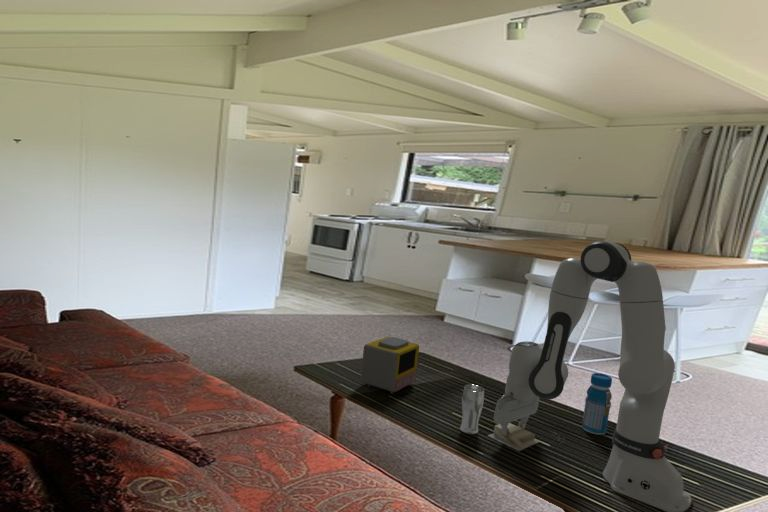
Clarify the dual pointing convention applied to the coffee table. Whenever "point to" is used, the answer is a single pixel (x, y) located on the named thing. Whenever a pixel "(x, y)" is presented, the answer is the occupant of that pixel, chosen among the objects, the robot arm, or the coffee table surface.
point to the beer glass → (471, 408)
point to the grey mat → (510, 442)
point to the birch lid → (515, 435)
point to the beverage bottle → (597, 404)
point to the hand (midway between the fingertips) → (513, 430)
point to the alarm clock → (389, 363)
